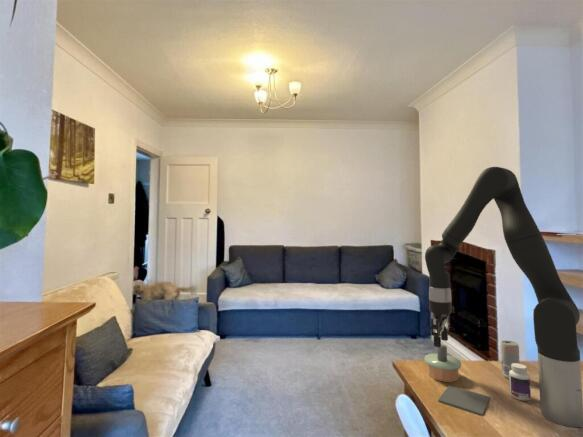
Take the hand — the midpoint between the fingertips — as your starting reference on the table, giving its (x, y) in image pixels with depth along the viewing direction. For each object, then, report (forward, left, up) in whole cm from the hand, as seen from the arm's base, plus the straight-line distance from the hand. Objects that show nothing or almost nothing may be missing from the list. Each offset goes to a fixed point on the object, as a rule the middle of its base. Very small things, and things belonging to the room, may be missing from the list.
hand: (441, 343), depth 115 cm
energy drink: (-19, -14, -12) cm, 27 cm away
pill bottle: (-23, 0, -12) cm, 26 cm away
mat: (-10, +13, -12) cm, 20 cm away
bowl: (0, 0, -12) cm, 12 cm away
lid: (0, 0, -7) cm, 7 cm away
